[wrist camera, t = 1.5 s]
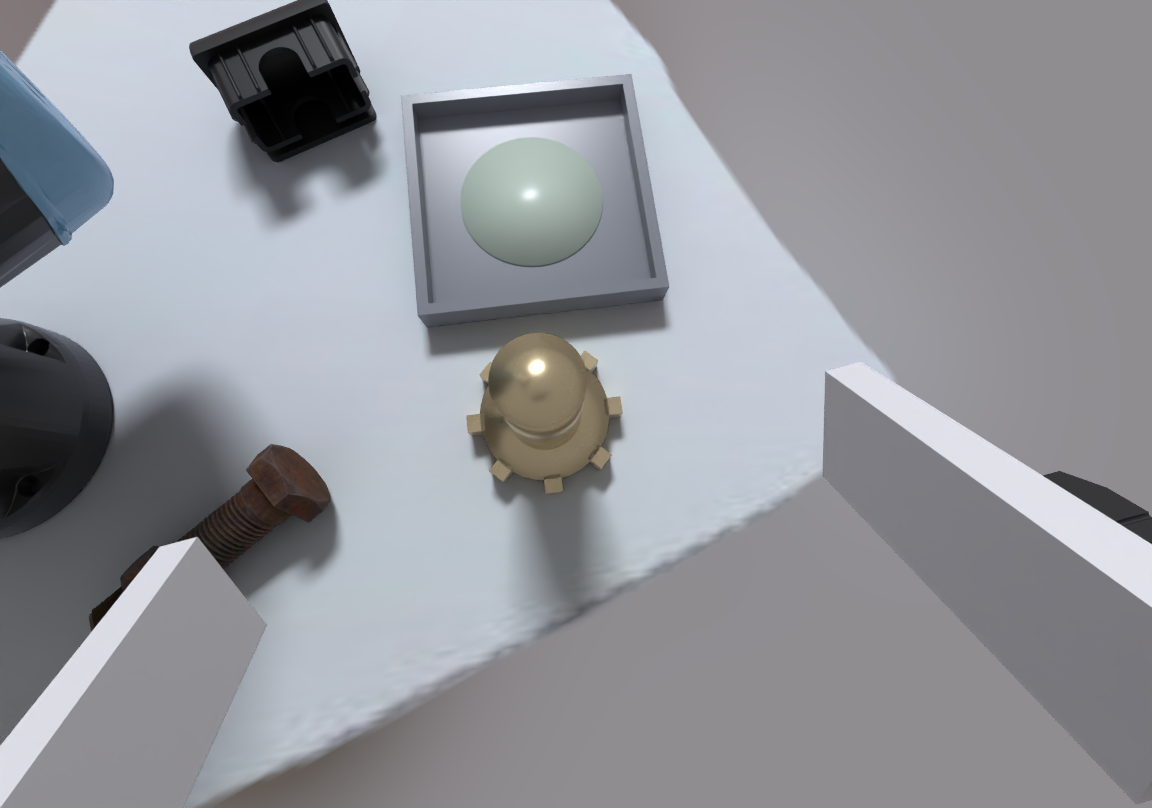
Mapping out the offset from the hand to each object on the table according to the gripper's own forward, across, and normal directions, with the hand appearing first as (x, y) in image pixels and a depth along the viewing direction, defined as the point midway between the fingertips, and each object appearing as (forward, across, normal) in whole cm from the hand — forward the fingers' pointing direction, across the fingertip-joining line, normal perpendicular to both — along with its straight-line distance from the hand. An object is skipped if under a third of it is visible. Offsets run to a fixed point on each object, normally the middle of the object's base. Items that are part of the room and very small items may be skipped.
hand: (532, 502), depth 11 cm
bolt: (+21, -24, -14) cm, 35 cm away
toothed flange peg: (+24, 0, -12) cm, 27 cm away
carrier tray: (+35, +3, +1) cm, 35 cm away
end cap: (+43, -13, +12) cm, 46 cm away
